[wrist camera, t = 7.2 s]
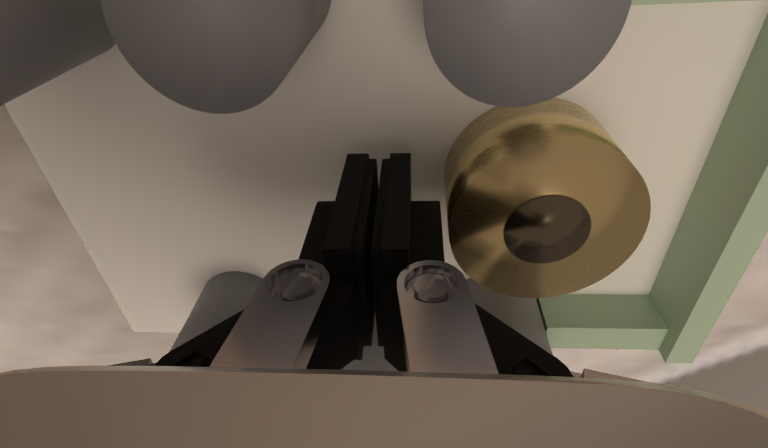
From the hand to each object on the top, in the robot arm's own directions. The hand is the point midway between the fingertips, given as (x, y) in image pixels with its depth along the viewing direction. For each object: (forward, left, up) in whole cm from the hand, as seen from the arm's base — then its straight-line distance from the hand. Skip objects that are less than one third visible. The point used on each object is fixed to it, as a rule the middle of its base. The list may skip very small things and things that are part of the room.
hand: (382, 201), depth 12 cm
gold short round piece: (0, +4, -1) cm, 4 cm away
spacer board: (0, 0, -2) cm, 2 cm away
